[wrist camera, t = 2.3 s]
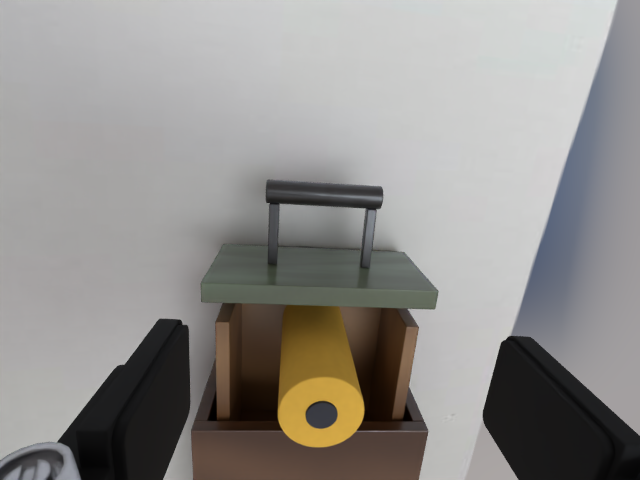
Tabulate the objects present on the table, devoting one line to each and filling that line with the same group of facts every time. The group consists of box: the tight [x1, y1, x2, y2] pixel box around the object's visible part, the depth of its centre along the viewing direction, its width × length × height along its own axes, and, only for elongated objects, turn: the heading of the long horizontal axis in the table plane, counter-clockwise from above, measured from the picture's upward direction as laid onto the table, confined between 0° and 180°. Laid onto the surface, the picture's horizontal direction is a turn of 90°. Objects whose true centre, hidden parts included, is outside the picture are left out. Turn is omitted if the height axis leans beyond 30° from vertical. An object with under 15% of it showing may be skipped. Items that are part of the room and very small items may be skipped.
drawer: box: [201, 180, 438, 421], centre depth 25 cm, size 20×13×7 cm
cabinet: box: [191, 358, 428, 480], centre depth 28 cm, size 16×15×9 cm
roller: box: [278, 305, 365, 447], centre depth 23 cm, size 4×4×10 cm
